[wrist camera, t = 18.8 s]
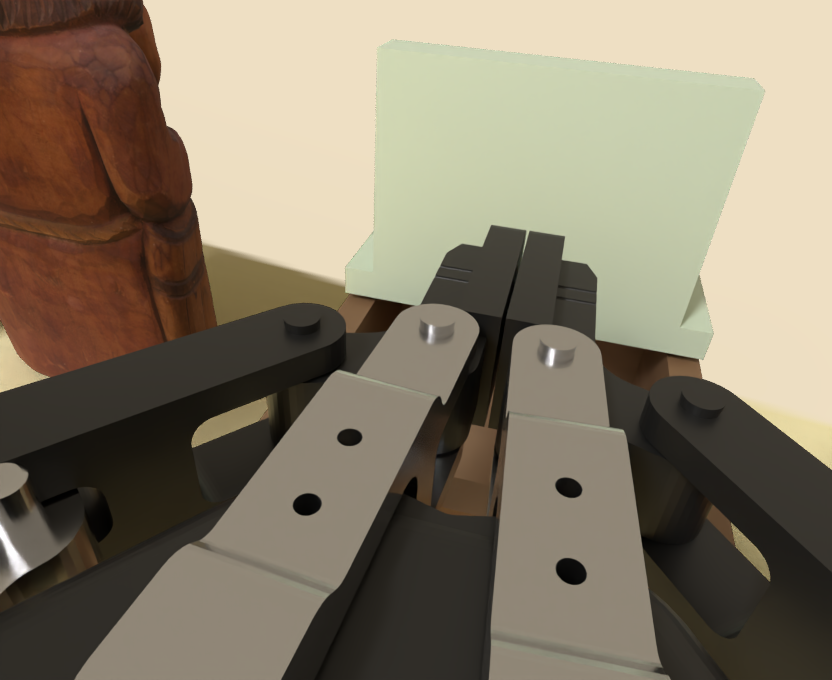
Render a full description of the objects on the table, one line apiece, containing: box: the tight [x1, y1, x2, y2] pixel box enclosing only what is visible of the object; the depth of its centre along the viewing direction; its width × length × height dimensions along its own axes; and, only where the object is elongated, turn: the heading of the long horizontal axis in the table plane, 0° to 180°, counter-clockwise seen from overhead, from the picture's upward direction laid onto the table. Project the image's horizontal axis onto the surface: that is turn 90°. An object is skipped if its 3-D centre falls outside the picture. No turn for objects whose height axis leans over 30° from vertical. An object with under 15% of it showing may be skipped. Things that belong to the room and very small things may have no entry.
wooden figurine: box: [0, 0, 217, 377], centre depth 25 cm, size 12×6×18 cm, turn 69°
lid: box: [345, 40, 765, 360], centre depth 24 cm, size 12×13×8 cm
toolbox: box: [259, 293, 735, 589], centre depth 19 cm, size 12×20×7 cm, turn 165°
